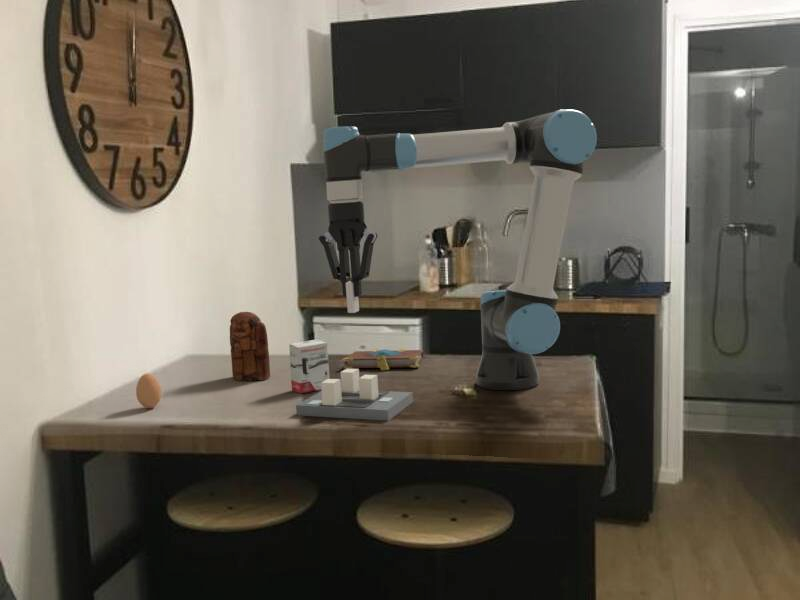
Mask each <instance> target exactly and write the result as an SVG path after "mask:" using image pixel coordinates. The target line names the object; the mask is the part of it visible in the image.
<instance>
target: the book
mask: <svg viewBox="0 0 800 600" xmlns="http://www.w3.org/2000/svg"><path fill="white" fill-rule="evenodd" d="M423 359H424V349H409V350H408V349H406V350H405V349H404V348H400V349H399V350H391V349H386V348H385V349H380V350H379V349H377V348H376V349H375V350H369V351H368V350H366V351H365V350H363V351H362V350H361V351H360V350H359V351H357V350H355V351H353V352H352V353H350V355H348V356H347V357H343V358H342V361H344V362H342V361H341V362H340V364H346V365H344V366H343V369H375V368H379V369H380V371H382V370H386V371H388V370H390V368H415V369H416V368H420V363H421V362H422V361H423Z"/></svg>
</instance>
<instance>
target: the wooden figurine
mask: <svg viewBox="0 0 800 600" xmlns="http://www.w3.org/2000/svg"><path fill="white" fill-rule="evenodd" d="M266 327H267V326H266V324H265V323H263V322H262V321H261V319H260V317H259V316H258V315H256V313H253V312H251V311H240V312H237V313H235V314H234V315H233V316H232V317H231V318H230V326H229V345H230V357H231V373H232V379H233V380H234V381H238V382H242V381H243V382H248V381H253V382H254V381H266V380H267V379H269V378H271V368H270V366H271V365H270V353H269V341H268V334H267V333H268V332H267V328H266Z"/></svg>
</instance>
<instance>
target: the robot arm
mask: <svg viewBox="0 0 800 600" xmlns="http://www.w3.org/2000/svg"><path fill="white" fill-rule="evenodd" d="M322 135H323V136H322V139H323V141H322V142H323V151H322V152H323V161H324V172H325V184H326V200H327V201H328V202H330V203H328V205H327V211H328V212H327V213H328V221H329V224H328V228H327V230H328V231H326V232H325V233H324V234H323V235H320V236H319V237H318V240H319V241H320V243H321V245H322V246H323V248H324V251H325V256H326V259H327V262H328V266H329V268H330V272H331V275H332V278H333V280H338V281H340V282H341V286H342V288H341V289H342V290H341V291H342V296H343V297H344V298H346V306H347V313H348V314H350V313H351V314H355V313H357V312H359V311H360V305H359V303H360V301H359V300H360V299H359V297H361V296H362V292H363V291H362V280H364V279H366V278H368V277H369V276H370V269H371V266H372V265H371V264H372V259H373V258H372V257H373V252H374V244H375V242H376V240H377V238H378V233H376V232H372V231H371V230H369V229H368V227H367V224H366V223H365V210H364V209H365V208H364V207H365V206H364V203H363V201H361V199H363V197H364V195H363V184H362V183H363V182H362V179H363V178H362V172H365V173H366V172H370V173H380V172H386V171H388V172H389V171H397V170H398V171H402V170H403V171H404V170H407V169H408V170H409V169H416V168H427V167H438V166H439V167H441V166H450V165H451V166H453V165H462V164H464V165H465V164H473V163H484V162H486V163H488V162H497V161H498V162H499V161H504V162H505V163H506V164H508V165H513V164H514V165H515V164H529V169H530V171H531V172H532V173H533V176H534V180H533V184H532V190H531V196H530V200H529V207H528V211H527V216H526V220H525V221H526V222H525V226H524V231H523V235H522V236H523V237H522V243H521V247H520V252H519V253H520V254H519V258H518V263H517V268H516V275H515V280H514V281H513V283H511V284H510V285H508V286H507V287H506V289H499V290H490V291H487V290H486V291H484V292H482V293H481V295H480V303H479V308H480V321H481V323H480V324H481V325H480V326H481V341H482V342H481V344H482V345H481V346H482V347H481V348H482V354H481V357H480V360H479V364H478V368H477V372H476V377H475V379H476V386H478V387H480V388H481V389H482V388H483V389H487V390H491V391H492V390H493V391H515V390H516V391H518V390H525V389H529V388H533V387H535V386H537V385H539V383H540V374H539V371H538V368H537V365H536V362H535V359H534V357H533V355H536V354H541V353H543V352H545V351H547V350H549V349H550V348H551V347H552V346H553V345H554V344H555V343H556V341H557V339H558V337H559V336H560V331H561V321H560V318H559V316H558V313H557V312H556V310H557V306H558V300H559V296H558V295H557V292H555V290H554V284H555V279H556V274H557V267H558V263H559V259H560V254H561V248H562V242H563V239H564V238H563V237H564V233H565V228H566V223H567V222H566V221H567V217H568V211H569V207H570V202H571V196H572V191H573V186H574V183H575V181H577V180H579V179H580V178H582V175H583V171H584V167H585V161H587V160H588V159H589V158H590V157H591V156H592V154H593V153H594V151H595V149H596V147H597V142H598V139H597V138H598V137H597V136H598V135H597V130H596V127H595V125H594V123H593V122H592V120H591V118H590V117H588V116H587V115H586V114H585V113H583V112H582V111H581V110H580V111H579V110H576V109H565V108H564V109H563V108H562V109H559V110H554V111H552V112H548V113H543V114H539V115H536V116H533V117H530V118H526V119H523V120H517V121H507V122H505V123H504V124H503V125H502V126H500V127H492V128H491V127H490V128H478V129H466V130H453V131H444V132H443V131H442V132H433V133H432V132H431V133H420V134H419V133H417V134H416V133H415V134H411V133H401V132H398V133H388V134H387V133H385V134H374V135H373V134H372V135H362V134H360V133H359V129H358V127H356V126H354V125H353V126H352V125H351V126H345V125H344V126H335V127H329V128H326V129H325V130H324V131H323V134H322ZM362 240H364V243H363V249H362V254H361V255H360V249H361V241H362ZM333 241H334V242H335V243H336V248H335V245H334V242H333ZM336 249H337V251H338V255H337V251H336Z"/></svg>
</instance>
